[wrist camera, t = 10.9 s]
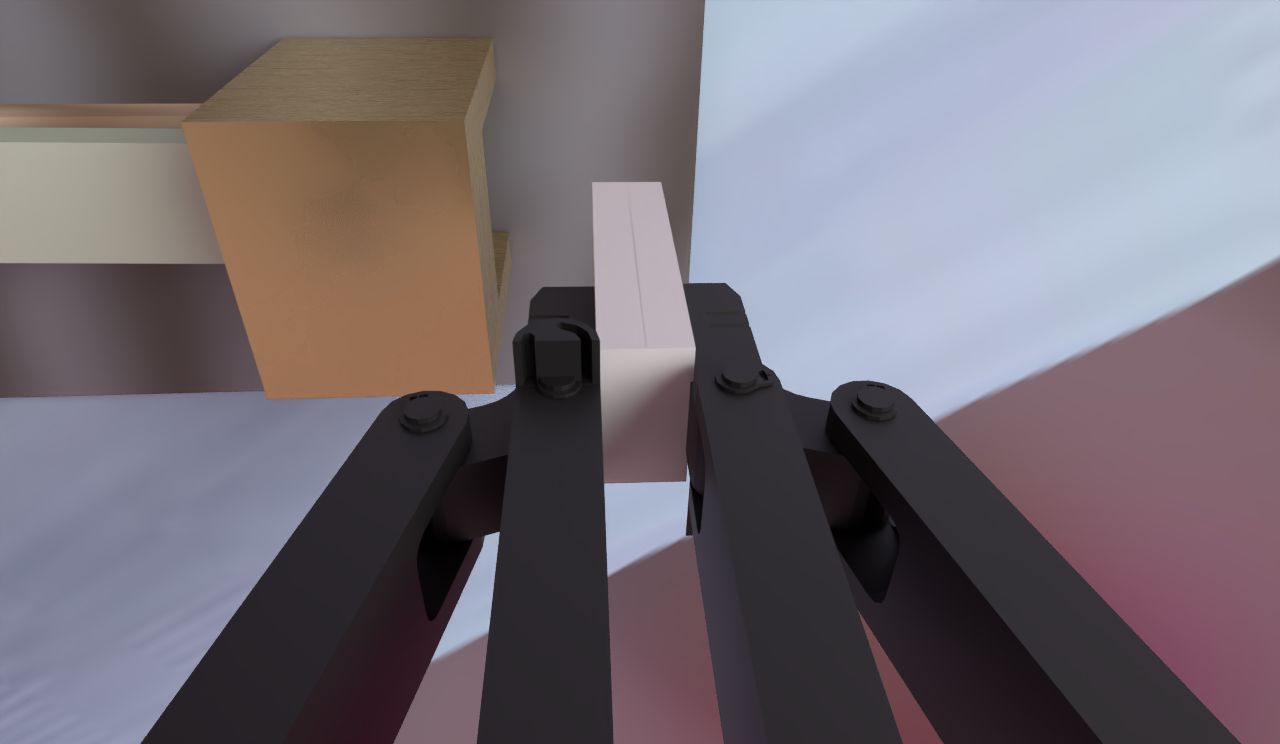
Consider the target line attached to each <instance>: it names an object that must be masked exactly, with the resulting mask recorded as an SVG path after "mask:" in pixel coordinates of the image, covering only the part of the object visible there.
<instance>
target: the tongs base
mask: <svg viewBox="0 0 1280 744" xmlns="http://www.w3.org/2000/svg"><path fill="white" fill-rule="evenodd" d="M704 8H705V0H0V127H46V128H170V129H182V125H181V121H182V120H183V119H185V118H186V117H187V116H188V115H190V114H191V113H192V112H193V111H194V110H196V109H197V108H198V107H199V106H201V105H202V104H203V103H204V102H206V101H207V100H208V99H209V98H210V97H212V96H213V95H214V94H215V93H217V92H218V91H219V90H220V89H221V88H223V87H224V86H225V85H226V84H228V83H229V82H230V81H231V80H233V79H234V78H235V77H236V76H237V75H239V74H240V73H241V72H242V71H244V70H245V69H246V68H247V67H249V66H250V65H251V64H252V63H253V62H255V61H256V60H257V59H258V58H260V57H261V56H262V55H263V54H264V53H266V52H267V51H268V50H269V49H271V48H272V47H273V46H274V45H276V44H277V43H278V42H279V41H280V40H282V39H283V38H493V47H494V59H495V71H496V82H495V86H494V89H493V93H492V97H491V100H490V104H489V107H488V111H487V115H486V118H485V122H484V125H483V129H482V137H483V147H484V157H485V168H486V178H487V188H488V198H489V208H490V219H491V229H492V232H509V237H510V249H511V261H512V265H511V273H510V280H509V288H508V295H507V303H506V310H505V317H504V325H503V332H502V340H501V347H500V355H499V362H498V369H497V377H496V384H495V385H508V384H516V382H515V370H514V358H513V346H512V341H513V339H514V337H515V335H516V333H517V332H518V331H519V330H521V329H522V328H523V327H525V326H526V325H528V319H529V307H530V300H531V299H532V298H533V297H534V296H535V295H536V294H537V292H538V291H539V290H540V289H541V288H542V287H581V286H594V276H593V205H592V182H661V184H662V189H663V194H664V198H665V203H666V208H667V213H668V217H669V222H670V227H671V232H672V237H673V241H674V246H675V251H676V256H677V261H678V265H679V270H680V275H681V280H682V284H688V283H689V267H690V250H691V233H692V215H693V198H694V181H695V164H696V146H697V129H698V112H699V95H700V77H701V60H702V43H703V26H704ZM238 391H265V390H264V387H263V384H262V380H261V377H260V374H259V371H258V368H257V365H256V361H255V358H254V355H253V352H252V349H251V345H250V342H249V339H248V336H247V333H246V329H245V326H244V323H243V320H242V317H241V314H240V310H239V307H238V304H237V301H236V298H235V294H234V291H233V288H232V285H231V282H230V278H229V275H228V272H227V269H226V266H225V264H129V263H0V398H7V397H46V396H84V395H123V394H161V393H200V392H238Z"/></svg>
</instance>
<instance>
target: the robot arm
mask: <svg viewBox="0 0 1280 744" xmlns="http://www.w3.org/2000/svg"><path fill="white" fill-rule="evenodd" d="M592 205H593V276H594V286H581V287H542V288H541V289H540V290H539V291H538V292H537V294H536V295H535V296H534V297H533V298H532V299H531V300H530V307H529V319H528V325H526V326H525V327H523V328H522V329H521V330H519V331H518V332H517V333H516V335H515V337H514V339H513V341H512V346H513V358H514V370H515V382H516V389H515V390H514V391H513V392H511V393H510V394H509V395H507V396H506V397H504V398H502V399H500V400H498V401H496V402H493V403H490V404H487V405H483V406H479V407H475V408H470V409H468V408H467V406H466V403H465V402H464V401H463V400H461V399H460V398H459V397H457V396H456V395H454V394H450V393H447V392H443V391H420V392H416V393H411V394H407V395H405V396H403V397H401V398H398V399H396V400H394V401H392V402H391V403H390V404H389V405H388V406H387V407H386V408H385V409H384V410H382V412H381V413H380V414H379V416H378V417H377V418H376V420H375V421H374V423H373V424H372V425H371V427H370V428H369V429H368V431H367V432H366V434H365V435H364V436H363V438H362V439H361V440H360V442H359V443H358V445H357V446H356V447H355V449H354V450H353V451H352V453H351V454H350V456H349V457H348V458H347V460H346V461H345V463H344V464H343V465H342V467H341V468H340V469H339V471H338V472H337V474H336V475H335V476H334V478H333V479H332V480H331V482H330V483H329V485H328V486H327V487H326V489H325V490H324V491H323V493H322V494H321V496H320V497H319V498H318V500H317V501H316V503H315V504H314V505H313V507H312V508H311V509H310V511H309V512H308V514H307V515H306V516H305V518H304V519H303V520H302V522H301V523H300V525H299V526H298V527H297V529H296V530H295V531H294V533H293V534H292V536H291V537H290V538H289V540H288V541H287V542H286V544H285V545H284V547H283V548H282V549H281V551H280V552H279V554H278V555H277V556H276V558H275V559H274V560H273V562H272V563H271V565H270V566H269V567H268V569H267V570H266V571H265V573H264V574H263V576H262V577H261V578H260V580H259V581H258V582H257V584H256V585H255V587H254V588H253V589H252V591H251V592H250V594H249V595H248V596H247V598H246V599H245V600H244V602H243V603H242V605H241V606H240V607H239V609H238V610H237V611H236V613H235V614H234V616H233V617H232V618H231V620H230V621H229V622H228V624H227V625H226V627H225V628H224V629H223V631H222V632H221V634H220V635H219V636H218V638H217V639H216V640H215V642H214V643H213V645H212V646H211V647H210V649H209V650H208V651H207V653H206V654H205V656H204V657H203V658H202V660H201V661H200V662H199V664H198V665H197V667H196V668H195V669H194V671H193V672H192V673H191V675H190V676H189V678H188V679H187V680H186V682H185V683H184V685H183V686H182V687H181V689H180V690H179V691H178V693H177V694H176V696H175V697H174V698H173V700H172V701H171V702H170V704H169V705H168V707H167V708H166V709H165V711H164V712H163V713H162V715H161V716H160V718H159V719H158V720H157V722H156V723H155V725H154V726H153V727H152V729H151V730H150V731H149V733H148V734H147V736H146V737H145V738H144V740H143V741H142V742H141V744H393V743H394V740H395V739H396V736H397V734H398V732H399V730H400V728H401V725H402V723H403V721H404V719H405V717H406V714H407V712H408V710H409V708H410V705H411V703H412V701H413V699H414V697H415V694H416V692H417V690H418V688H419V686H420V683H421V681H422V679H423V677H424V675H425V672H426V670H427V668H428V666H429V664H430V662H431V659H432V657H433V655H434V653H435V651H436V648H437V646H438V644H439V642H440V640H441V637H442V635H443V633H444V631H445V629H446V626H447V624H448V622H449V620H450V618H451V615H452V613H453V611H454V609H455V607H456V604H457V602H458V600H459V598H460V596H461V593H462V591H463V589H464V587H465V585H466V582H467V580H468V578H469V576H470V574H471V571H472V569H473V567H474V565H475V563H476V560H477V558H478V556H479V554H480V552H481V549H482V547H483V542H484V537H485V535H489V534H492V533H496V532H499V531H500V536H499V545H498V554H497V563H496V572H495V581H494V590H493V600H492V609H491V618H490V627H489V637H488V645H487V654H486V664H485V673H484V682H483V691H482V700H481V709H480V719H479V728H478V737H477V744H613V717H612V690H611V663H610V634H609V609H608V581H607V580H608V579H607V552H606V524H605V497H604V483H640V482H680V481H686V476H687V463H688V469H689V475H690V488H689V501H688V514H687V527H686V536H689V535H693V538H694V544H695V551H696V558H697V565H698V572H699V578H700V585H701V592H702V599H703V605H704V611H705V619H706V626H707V632H708V638H709V646H710V653H711V659H712V666H713V672H714V679H715V686H716V693H717V699H718V706H719V713H720V719H721V727H722V733H723V740H724V744H903V743H902V740H901V737H900V734H899V731H898V728H897V725H896V722H895V719H894V716H893V713H892V710H891V707H890V704H889V701H888V699H887V696H886V692H885V690H884V687H883V684H882V681H881V678H880V675H879V672H878V669H877V666H876V663H875V660H874V657H873V654H872V651H871V648H870V645H869V642H868V639H867V637H866V633H865V630H864V628H863V625H862V622H861V619H860V616H859V613H858V611H859V612H860V614H861V615H862V617H863V618H864V620H865V621H866V623H867V624H868V626H869V628H870V629H871V631H872V632H873V634H874V635H875V637H876V639H877V640H878V642H879V643H880V645H881V646H882V648H883V649H884V651H885V653H886V654H887V656H888V657H889V659H890V661H891V662H892V664H893V665H894V667H895V668H896V670H897V671H898V673H899V675H900V676H901V678H902V679H903V681H904V682H905V684H906V686H907V687H908V688H909V690H910V692H911V693H912V695H913V696H914V698H915V700H916V701H917V703H918V704H919V706H920V707H921V709H922V711H923V712H924V714H925V715H926V717H927V718H928V720H929V721H930V723H931V724H932V726H933V728H934V729H935V731H936V732H937V734H938V735H939V737H940V739H941V740H942V741H943V743H944V744H1241V743H1240V742H1239V741H1238V740H1237V739H1236V738H1235V737H1234V736H1233V735H1232V734H1231V733H1230V732H1229V731H1228V729H1227V728H1226V727H1225V726H1224V725H1223V724H1222V723H1221V722H1220V721H1219V720H1218V719H1217V718H1216V717H1215V716H1214V715H1213V714H1212V713H1211V712H1210V711H1209V710H1208V709H1207V708H1206V706H1205V705H1204V704H1203V703H1202V702H1201V701H1200V700H1199V699H1198V698H1197V697H1196V696H1195V695H1194V694H1193V693H1192V692H1191V691H1190V690H1189V689H1188V688H1187V687H1186V686H1185V684H1184V683H1183V682H1182V681H1181V680H1180V679H1179V678H1178V677H1177V676H1176V675H1175V674H1174V673H1173V672H1172V671H1171V670H1170V669H1169V668H1168V667H1167V666H1166V665H1165V664H1164V663H1163V661H1162V660H1161V659H1160V658H1159V657H1158V656H1157V655H1156V654H1155V653H1154V652H1153V651H1152V650H1151V649H1150V648H1149V647H1148V646H1147V645H1146V644H1145V643H1144V642H1143V640H1142V639H1140V637H1139V636H1138V635H1137V634H1136V633H1135V632H1134V631H1133V630H1132V629H1131V628H1130V627H1129V626H1128V625H1127V624H1126V623H1125V622H1124V621H1123V619H1122V618H1121V617H1120V616H1119V615H1118V614H1117V613H1116V612H1115V611H1114V610H1113V609H1112V608H1111V607H1110V606H1109V605H1108V604H1107V603H1106V602H1105V601H1104V600H1103V599H1102V597H1101V596H1099V594H1098V593H1097V592H1096V591H1095V590H1094V589H1093V588H1092V587H1091V586H1090V585H1089V584H1088V583H1087V582H1086V581H1085V580H1084V579H1083V578H1082V577H1081V576H1080V574H1079V573H1078V572H1077V571H1076V570H1075V569H1074V568H1073V567H1072V566H1071V565H1070V564H1069V563H1068V562H1067V561H1066V560H1065V559H1064V558H1063V557H1062V556H1061V555H1060V554H1059V552H1058V551H1057V550H1056V549H1055V548H1054V547H1053V546H1052V545H1051V544H1050V543H1049V542H1048V541H1047V540H1046V539H1045V538H1044V537H1043V536H1042V535H1041V534H1040V533H1039V532H1038V531H1037V529H1036V528H1035V527H1034V526H1033V525H1032V524H1031V523H1030V522H1029V521H1028V520H1027V519H1026V518H1025V517H1024V516H1023V515H1022V514H1021V513H1020V512H1019V511H1018V510H1017V508H1015V506H1013V504H1012V503H1011V502H1010V501H1009V500H1008V499H1007V498H1006V497H1005V496H1004V495H1003V494H1002V493H1001V492H1000V491H999V490H998V489H997V488H996V486H995V485H994V484H992V482H991V481H990V480H989V479H988V478H987V477H986V476H985V475H984V474H983V473H982V472H981V471H980V470H979V469H978V468H977V467H976V466H975V464H974V463H972V461H970V459H969V458H968V457H967V456H966V455H965V454H964V453H963V452H962V451H961V450H960V449H959V448H958V447H957V446H956V445H955V444H954V443H953V441H952V440H951V439H950V438H949V437H948V436H947V435H946V434H945V433H944V432H943V431H942V430H941V429H940V428H939V427H938V426H937V425H936V424H935V423H934V422H933V420H932V419H931V418H930V417H929V416H928V415H927V414H926V413H925V412H924V411H923V410H922V409H921V408H920V407H919V406H918V405H917V404H916V403H915V402H914V401H913V400H912V399H911V398H910V397H909V396H907V395H906V394H905V393H903V392H902V391H901V390H899V389H897V388H894V387H892V386H889V385H887V384H884V383H879V382H874V381H852V382H849V383H846V384H843V385H840V386H839V387H838V388H837V389H836V390H835V391H833V392H832V396H831V401H825V400H819V399H814V398H809V397H805V396H801V395H797V394H794V393H791V392H789V391H787V390H784V389H783V388H782V385H781V382H780V380H779V379H778V377H777V376H776V374H775V373H774V371H772V370H771V369H769V368H768V367H766V366H765V365H763V364H762V362H761V359H760V356H759V353H758V350H757V347H756V344H755V340H754V337H753V334H752V331H751V328H750V327H749V322H748V319H747V316H746V314H745V309H744V306H743V303H742V300H741V297H740V296H739V295H738V294H737V293H736V292H735V291H734V290H733V289H731V288H730V287H729V286H728V285H727V284H726V283H688V284H682V280H681V275H680V270H679V265H678V261H677V256H676V251H675V246H674V241H673V237H672V232H671V227H670V222H669V217H668V213H667V208H666V203H665V198H664V194H663V189H662V184H661V182H592ZM857 609H858V610H857Z"/></svg>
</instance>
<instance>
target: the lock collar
mask: <svg viewBox="0 0 1280 744" xmlns="http://www.w3.org/2000/svg"><path fill="white" fill-rule="evenodd" d="M495 82H496V71H495V59H494V47H493V38H283V39H282V40H280V41H279V42H278V43H277V44H276V45H274V46H273V47H272V48H271V49H269V50H268V51H267V52H266V53H264V54H263V55H262V56H261V57H260V58H258V59H257V60H256V61H255V62H253V63H252V64H251V65H250V66H249V67H247V68H246V69H245V70H244V71H242V72H241V73H240V74H239V75H237V76H236V77H235V78H234V79H233V80H231V81H230V82H229V83H228V84H226V85H225V86H224V87H223V88H221V89H220V90H219V91H218V92H217V93H215V94H214V95H213V96H212V97H210V98H209V99H208V100H207V101H206V102H204V103H203V104H202V105H201V106H199V107H198V108H197V109H196V110H194V111H193V112H192V113H191V114H190V115H188V116H187V117H186V118H185V119H183V120H182V121H181V125H182V129H183V132H184V135H185V138H186V141H187V145H188V148H189V151H190V154H191V157H192V160H193V164H194V167H195V170H196V173H197V176H198V180H199V183H200V186H201V189H202V192H203V196H204V199H205V202H206V205H207V208H208V211H209V215H210V218H211V221H212V224H213V227H214V231H215V234H216V237H217V240H218V243H219V247H220V250H221V253H222V256H223V259H224V263H225V266H226V269H227V272H228V275H229V278H230V282H231V285H232V288H233V291H234V294H235V298H236V301H237V304H238V307H239V310H240V314H241V317H242V320H243V323H244V326H245V329H246V333H247V336H248V339H249V342H250V345H251V349H252V352H253V355H254V358H255V361H256V365H257V368H258V371H259V374H260V377H261V380H262V384H263V387H264V390H265V393H266V396H267V399H303V398H340V397H378V396H405V395H407V394H411V393H416V392H420V391H443V392H447V393H450V394H490V393H494V392H495V384H496V377H497V369H498V362H499V355H500V347H501V340H502V332H503V325H504V317H505V310H506V303H507V295H508V288H509V280H510V273H511V265H512V261H511V249H510V237H509V232H492V229H491V219H490V208H489V198H488V188H487V178H486V168H485V157H484V147H483V137H482V129H483V125H484V122H485V118H486V115H487V111H488V107H489V104H490V100H491V97H492V93H493V89H494V86H495Z"/></svg>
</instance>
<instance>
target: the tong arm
mask: <svg viewBox="0 0 1280 744" xmlns="http://www.w3.org/2000/svg"><path fill="white" fill-rule="evenodd" d="M0 263H129V264H225V263H224V259H223V256H222V253H221V250H220V247H219V243H218V240H217V237H216V234H215V231H214V227H213V224H212V221H211V218H210V215H209V211H208V208H207V205H206V202H205V199H204V196H203V192H202V189H201V186H200V183H199V180H198V176H197V173H196V170H195V167H194V164H193V160H192V157H191V154H190V151H189V148H188V145H187V141H186V138H185V135H184V132H183V129H170V128H46V127H0Z"/></svg>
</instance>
